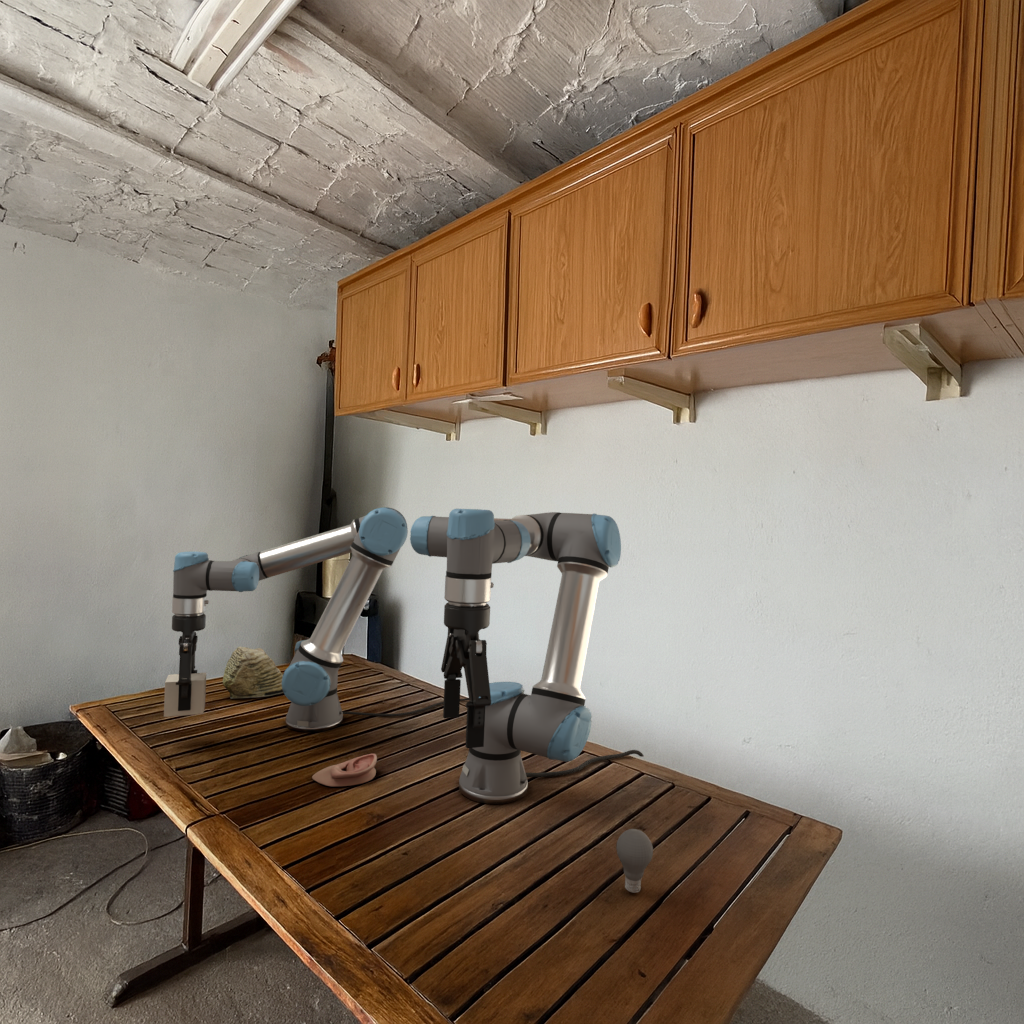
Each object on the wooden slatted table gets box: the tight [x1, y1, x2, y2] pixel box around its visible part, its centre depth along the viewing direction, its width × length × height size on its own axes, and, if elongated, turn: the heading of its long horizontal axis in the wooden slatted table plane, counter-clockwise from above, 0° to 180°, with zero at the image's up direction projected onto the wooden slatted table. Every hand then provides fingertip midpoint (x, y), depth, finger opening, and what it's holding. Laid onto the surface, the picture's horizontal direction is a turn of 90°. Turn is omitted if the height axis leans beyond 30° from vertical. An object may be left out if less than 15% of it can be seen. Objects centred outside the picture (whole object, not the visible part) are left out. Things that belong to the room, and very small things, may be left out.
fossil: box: [222, 646, 284, 699], centre depth 198 cm, size 9×18×15 cm, turn 132°
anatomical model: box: [311, 753, 378, 788], centre depth 144 cm, size 13×4×12 cm
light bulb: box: [615, 828, 654, 894], centre depth 106 cm, size 6×6×10 cm
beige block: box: [163, 672, 207, 718], centre depth 158 cm, size 9×7×8 cm
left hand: (185, 705), depth 159 cm, fingers closed on beige block, 7 cm apart
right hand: (462, 731), depth 104 cm, fingers open, 13 cm apart
